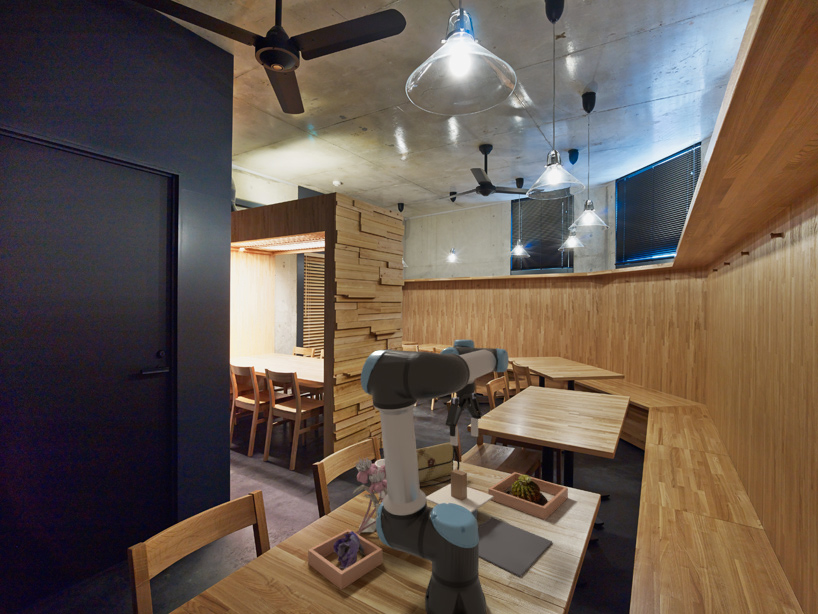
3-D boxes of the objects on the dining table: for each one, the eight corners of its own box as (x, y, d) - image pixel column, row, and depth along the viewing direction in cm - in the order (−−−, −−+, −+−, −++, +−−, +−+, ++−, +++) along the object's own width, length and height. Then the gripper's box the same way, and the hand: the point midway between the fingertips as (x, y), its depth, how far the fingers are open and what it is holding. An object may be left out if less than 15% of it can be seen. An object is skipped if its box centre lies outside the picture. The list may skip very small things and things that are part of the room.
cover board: (465, 516, 127) (465, 487, 127) (424, 499, 139) (424, 472, 139) (493, 497, 140) (493, 471, 140) (453, 483, 152) (453, 459, 153)
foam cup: (394, 501, 150) (394, 468, 150) (372, 499, 152) (371, 466, 152) (400, 490, 159) (399, 459, 160) (378, 488, 161) (378, 457, 161)
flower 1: (358, 524, 121) (341, 524, 114) (376, 545, 116) (359, 546, 108) (341, 551, 120) (322, 552, 112) (358, 573, 115) (339, 576, 107)
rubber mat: (520, 577, 106) (520, 575, 106) (455, 545, 121) (455, 544, 121) (552, 542, 122) (552, 541, 122) (491, 518, 137) (491, 517, 137)
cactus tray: (544, 519, 136) (544, 508, 136) (488, 498, 152) (488, 488, 152) (567, 497, 152) (567, 487, 153) (514, 481, 168) (514, 472, 168)
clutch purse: (406, 493, 157) (406, 456, 157) (398, 487, 163) (398, 451, 163) (463, 477, 172) (463, 444, 173) (453, 472, 178) (453, 439, 179)
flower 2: (375, 560, 111) (405, 473, 119) (327, 525, 126) (357, 449, 133) (412, 559, 126) (437, 481, 133) (366, 528, 140) (390, 459, 147)
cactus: (494, 498, 153) (494, 474, 153) (518, 487, 163) (518, 464, 163) (532, 516, 139) (532, 489, 139) (556, 502, 149) (555, 477, 149)
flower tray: (341, 589, 102) (341, 574, 102) (308, 563, 113) (308, 549, 113) (382, 562, 113) (382, 549, 113) (348, 541, 124) (348, 528, 124)
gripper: (453, 387, 128) (453, 451, 127) (490, 378, 147) (490, 434, 146) (435, 385, 133) (435, 446, 132) (473, 376, 152) (474, 430, 151)
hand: (464, 440), depth 139 cm, fingers open, 13 cm apart
